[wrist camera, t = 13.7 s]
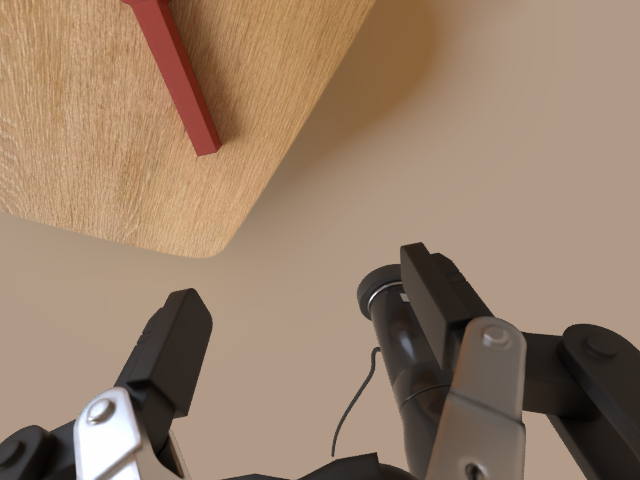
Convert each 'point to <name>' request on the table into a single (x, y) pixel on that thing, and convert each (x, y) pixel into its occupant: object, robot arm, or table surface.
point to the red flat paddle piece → (177, 72)
